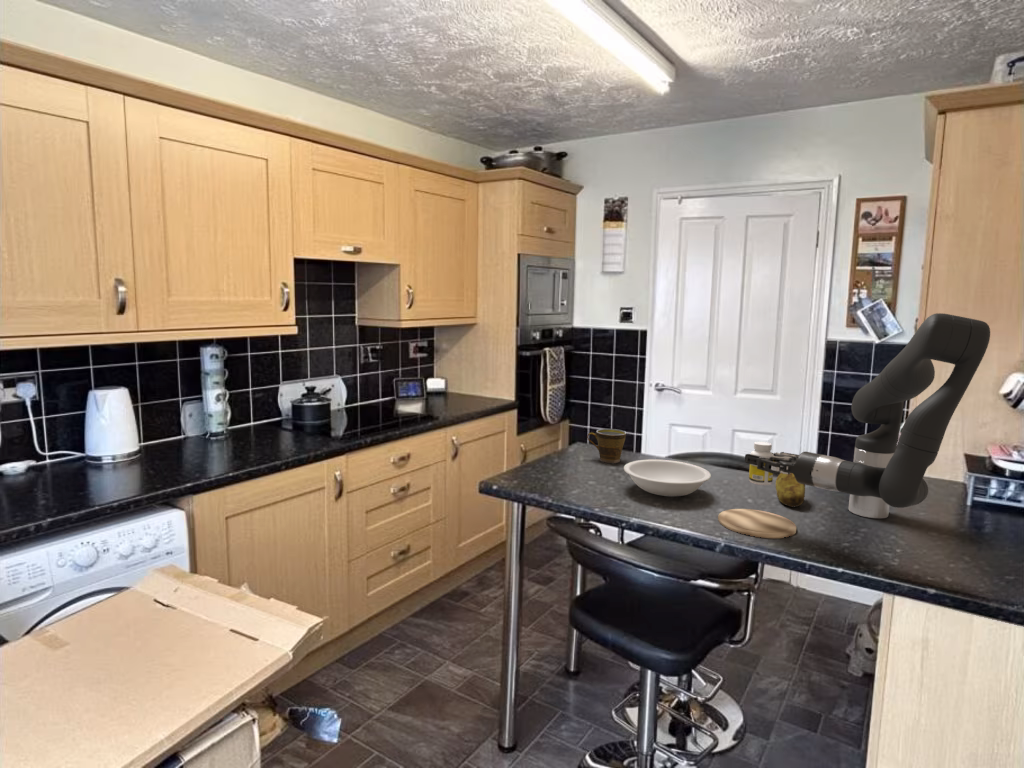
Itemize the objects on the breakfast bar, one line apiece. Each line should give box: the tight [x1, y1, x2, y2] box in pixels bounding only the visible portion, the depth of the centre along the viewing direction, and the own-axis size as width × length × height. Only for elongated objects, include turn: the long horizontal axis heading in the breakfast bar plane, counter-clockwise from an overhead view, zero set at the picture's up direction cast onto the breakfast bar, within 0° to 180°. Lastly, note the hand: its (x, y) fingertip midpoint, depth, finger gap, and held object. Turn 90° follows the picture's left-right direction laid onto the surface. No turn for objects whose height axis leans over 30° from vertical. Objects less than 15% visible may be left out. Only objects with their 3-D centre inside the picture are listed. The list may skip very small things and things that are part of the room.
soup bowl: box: [623, 459, 712, 497], centre depth 176 cm, size 24×24×7 cm
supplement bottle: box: [748, 441, 774, 486], centre depth 150 cm, size 5×5×10 cm
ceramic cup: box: [586, 428, 627, 464], centre depth 209 cm, size 13×10×10 cm
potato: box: [775, 472, 806, 508], centre depth 170 cm, size 8×13×8 cm, turn 148°
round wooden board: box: [717, 508, 797, 539], centre depth 153 cm, size 18×18×1 cm
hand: (752, 456), depth 152 cm, fingers closed on supplement bottle, 5 cm apart
